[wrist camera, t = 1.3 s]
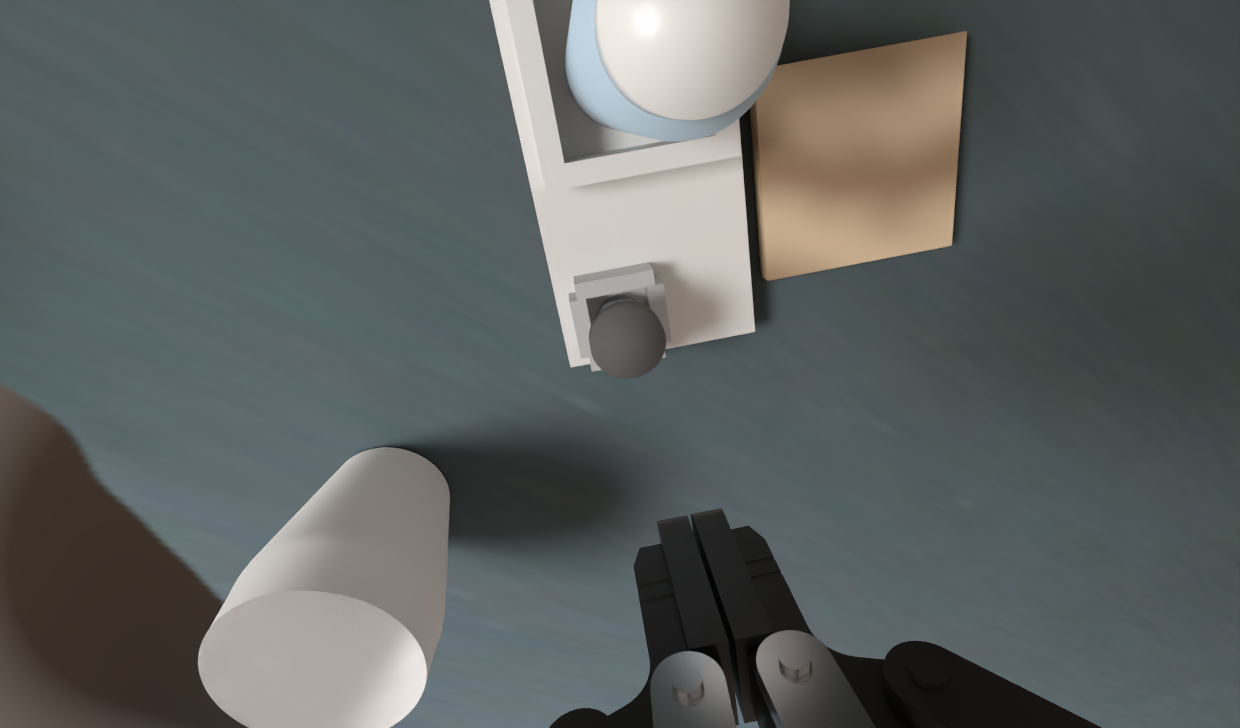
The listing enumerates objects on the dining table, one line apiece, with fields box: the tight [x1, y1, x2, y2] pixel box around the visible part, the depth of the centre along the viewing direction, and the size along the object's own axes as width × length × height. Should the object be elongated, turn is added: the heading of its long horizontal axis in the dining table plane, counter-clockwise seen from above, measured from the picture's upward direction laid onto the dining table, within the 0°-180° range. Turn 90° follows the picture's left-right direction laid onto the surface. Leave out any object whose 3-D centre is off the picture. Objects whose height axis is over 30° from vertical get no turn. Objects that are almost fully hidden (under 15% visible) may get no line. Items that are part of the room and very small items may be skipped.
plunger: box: [589, 295, 666, 379], centre depth 27 cm, size 3×3×4 cm
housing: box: [489, 0, 755, 372], centre depth 26 cm, size 18×10×4 cm, turn 9°
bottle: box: [564, 0, 789, 142], centre depth 19 cm, size 5×5×14 cm
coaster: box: [750, 31, 967, 281], centre depth 29 cm, size 10×10×1 cm
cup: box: [198, 448, 450, 728], centre depth 29 cm, size 9×9×12 cm
